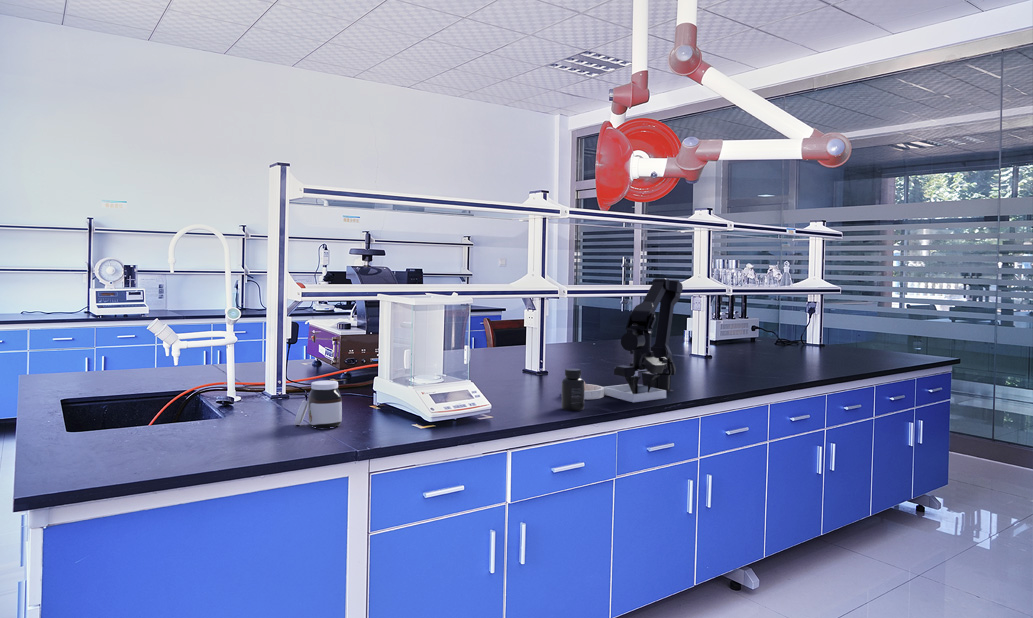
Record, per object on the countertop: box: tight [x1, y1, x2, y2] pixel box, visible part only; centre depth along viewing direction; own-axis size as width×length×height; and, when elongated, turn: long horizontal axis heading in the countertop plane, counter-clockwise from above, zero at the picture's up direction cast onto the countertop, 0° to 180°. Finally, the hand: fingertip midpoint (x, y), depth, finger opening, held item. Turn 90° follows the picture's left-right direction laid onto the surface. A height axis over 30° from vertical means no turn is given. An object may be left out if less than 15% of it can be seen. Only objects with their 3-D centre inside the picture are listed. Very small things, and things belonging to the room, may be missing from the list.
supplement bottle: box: [561, 368, 585, 412], centre depth 199 cm, size 7×7×12 cm
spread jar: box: [293, 379, 343, 428], centre depth 174 cm, size 12×11×12 cm
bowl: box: [584, 383, 605, 400], centre depth 218 cm, size 13×13×3 cm
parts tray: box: [602, 383, 667, 403], centre depth 218 cm, size 14×15×3 cm
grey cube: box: [637, 383, 648, 394], centre depth 215 cm, size 4×4×4 cm
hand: (640, 395), depth 215 cm, fingers closed on grey cube, 4 cm apart
